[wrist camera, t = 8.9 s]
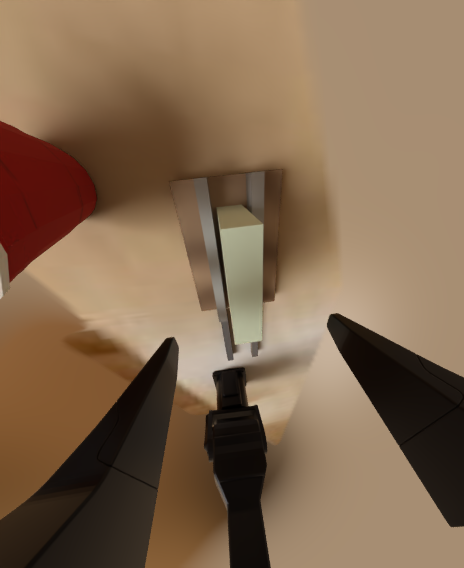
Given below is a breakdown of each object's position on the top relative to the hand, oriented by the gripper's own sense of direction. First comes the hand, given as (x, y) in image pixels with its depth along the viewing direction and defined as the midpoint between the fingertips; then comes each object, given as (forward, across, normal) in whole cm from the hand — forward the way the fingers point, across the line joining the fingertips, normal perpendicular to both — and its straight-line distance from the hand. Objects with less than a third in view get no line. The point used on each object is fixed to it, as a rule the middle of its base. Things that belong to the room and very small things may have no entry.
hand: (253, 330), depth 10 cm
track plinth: (+12, 0, 0) cm, 12 cm away
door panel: (+11, 0, 0) cm, 11 cm away
